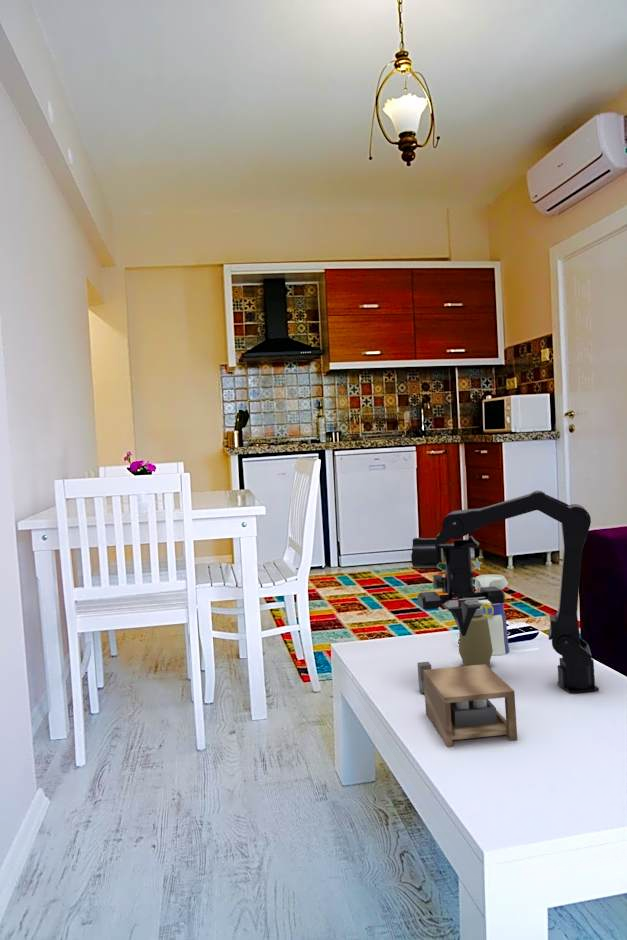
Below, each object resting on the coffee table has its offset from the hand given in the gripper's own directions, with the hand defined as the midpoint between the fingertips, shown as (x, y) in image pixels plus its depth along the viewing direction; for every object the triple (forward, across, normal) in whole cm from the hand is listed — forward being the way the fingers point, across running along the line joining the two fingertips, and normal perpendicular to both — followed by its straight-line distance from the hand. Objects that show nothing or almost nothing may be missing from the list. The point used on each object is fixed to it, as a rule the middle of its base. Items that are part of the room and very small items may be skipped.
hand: (463, 635), depth 155 cm
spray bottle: (+11, -14, -21) cm, 28 cm away
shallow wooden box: (+11, +6, +15) cm, 20 cm away
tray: (+10, +6, +23) cm, 26 cm away
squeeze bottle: (+11, -6, -11) cm, 17 cm away
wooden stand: (+11, +6, +23) cm, 26 cm away
